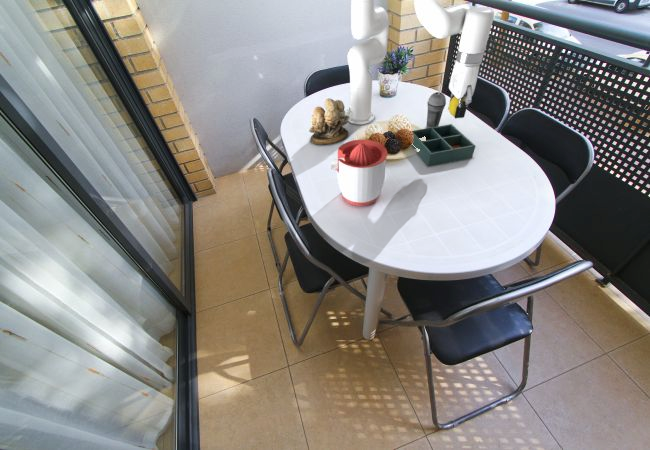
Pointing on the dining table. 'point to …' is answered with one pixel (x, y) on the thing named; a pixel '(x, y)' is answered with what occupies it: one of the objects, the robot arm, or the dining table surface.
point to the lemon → (454, 105)
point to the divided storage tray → (442, 145)
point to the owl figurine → (329, 123)
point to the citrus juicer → (360, 171)
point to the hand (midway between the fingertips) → (456, 112)
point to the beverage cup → (435, 108)
